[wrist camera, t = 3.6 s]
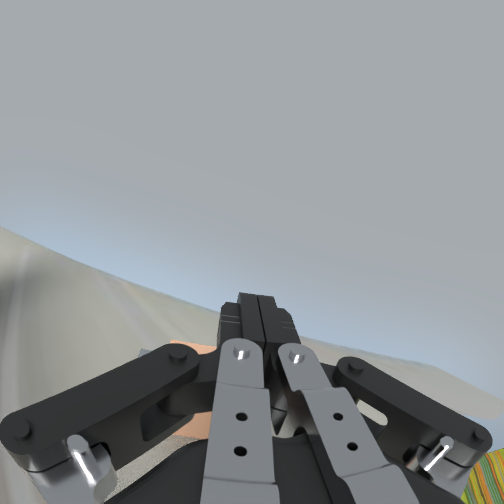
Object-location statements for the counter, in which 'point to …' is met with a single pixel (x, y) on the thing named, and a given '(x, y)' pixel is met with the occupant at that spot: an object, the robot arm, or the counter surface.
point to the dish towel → (486, 480)
